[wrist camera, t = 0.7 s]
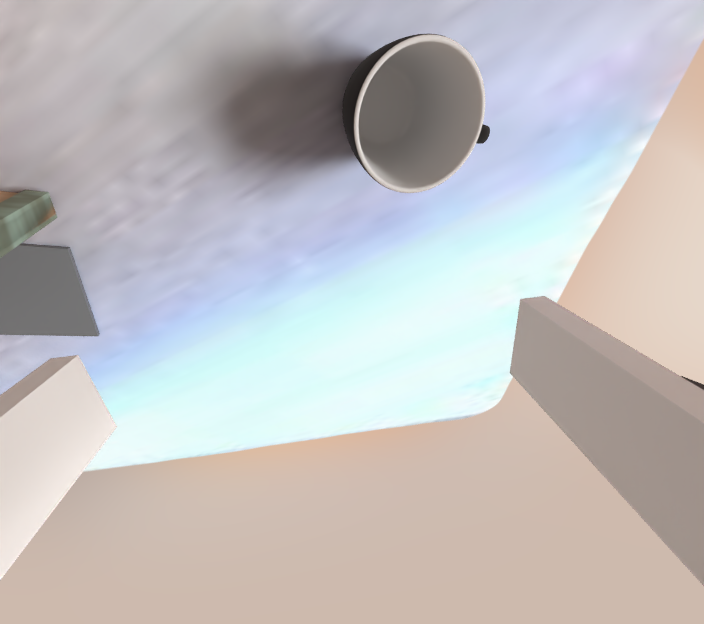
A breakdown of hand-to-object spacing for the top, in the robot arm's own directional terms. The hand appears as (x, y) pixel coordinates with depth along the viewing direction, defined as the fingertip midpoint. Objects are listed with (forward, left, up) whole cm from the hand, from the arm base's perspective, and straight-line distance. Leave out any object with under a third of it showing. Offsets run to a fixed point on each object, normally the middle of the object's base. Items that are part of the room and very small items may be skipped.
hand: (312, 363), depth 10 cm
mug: (-6, +9, -26) cm, 28 cm away
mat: (+16, -28, -26) cm, 41 cm away
